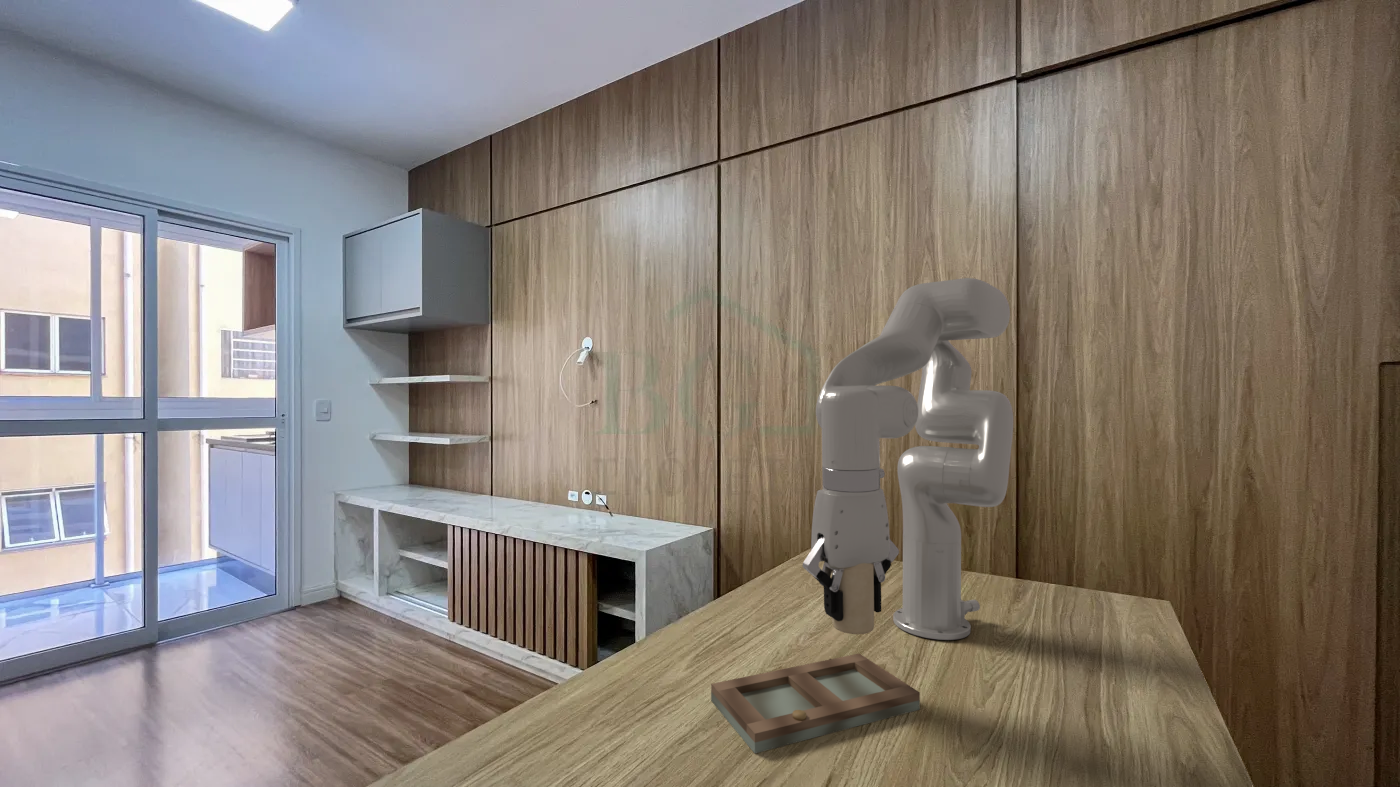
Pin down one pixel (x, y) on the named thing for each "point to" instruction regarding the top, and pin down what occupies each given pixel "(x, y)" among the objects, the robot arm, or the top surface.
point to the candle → (857, 600)
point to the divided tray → (811, 700)
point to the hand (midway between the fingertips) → (853, 611)
